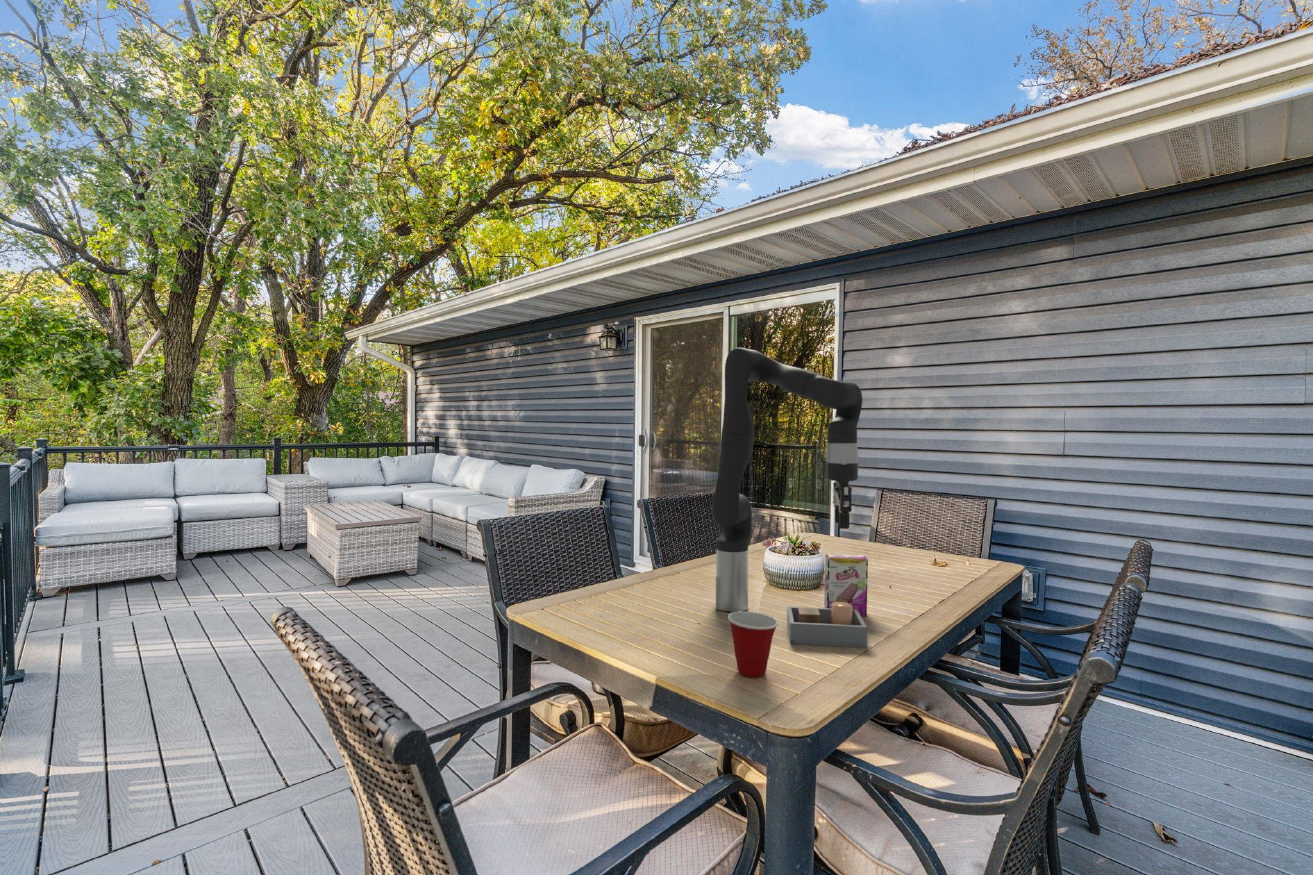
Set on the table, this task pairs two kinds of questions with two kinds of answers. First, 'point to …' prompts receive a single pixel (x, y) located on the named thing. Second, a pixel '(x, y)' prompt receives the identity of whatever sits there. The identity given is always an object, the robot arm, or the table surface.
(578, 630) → the table surface
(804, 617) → the walnut cube
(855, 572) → the candy bar box
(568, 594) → the table surface
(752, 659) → the plastic cup
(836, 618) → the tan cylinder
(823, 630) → the gray tote
